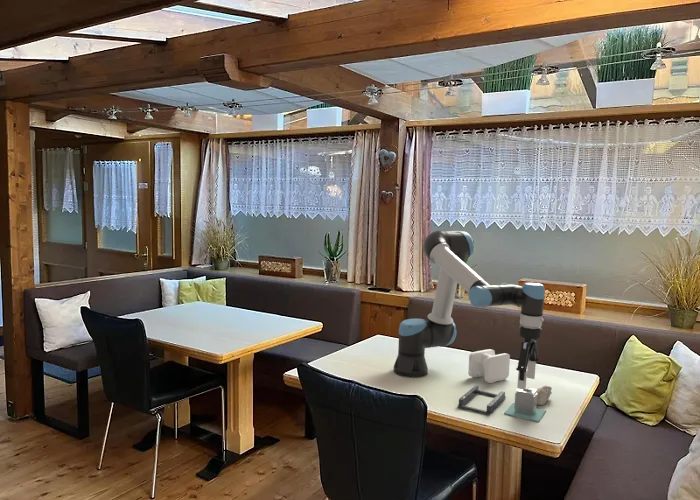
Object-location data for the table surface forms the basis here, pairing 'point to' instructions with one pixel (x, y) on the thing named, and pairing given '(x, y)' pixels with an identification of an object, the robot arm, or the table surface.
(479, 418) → the table surface
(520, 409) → the grey cube with hole
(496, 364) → the cable organizer
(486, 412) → the dark grey open frame
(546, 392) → the stone
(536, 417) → the pad
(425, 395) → the table surface
